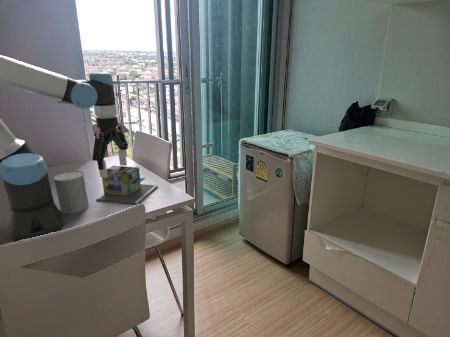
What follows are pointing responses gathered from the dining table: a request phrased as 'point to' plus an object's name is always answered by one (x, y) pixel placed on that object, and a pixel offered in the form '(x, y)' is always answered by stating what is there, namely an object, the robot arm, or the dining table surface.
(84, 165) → the dining table surface
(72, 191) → the grey cylinder
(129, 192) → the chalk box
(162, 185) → the dining table surface
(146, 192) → the mat
